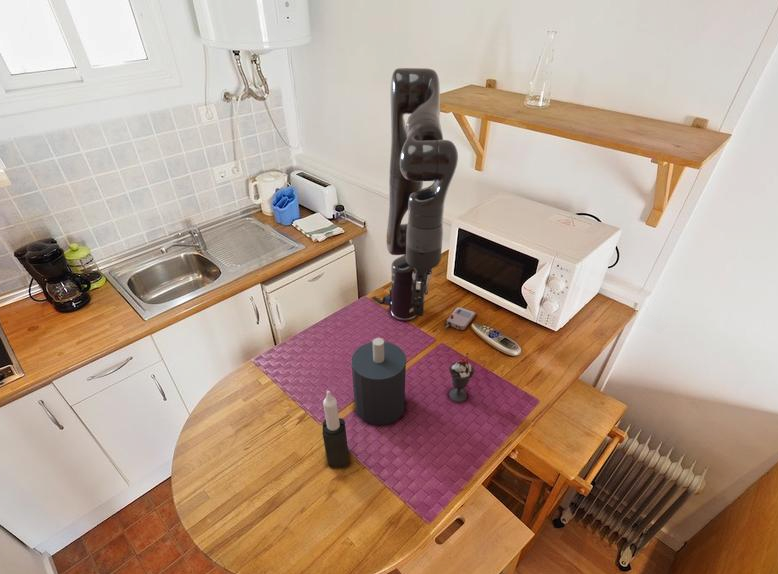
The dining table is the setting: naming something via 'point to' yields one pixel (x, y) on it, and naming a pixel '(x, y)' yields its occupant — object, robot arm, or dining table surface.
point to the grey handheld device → (460, 318)
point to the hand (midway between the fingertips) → (420, 304)
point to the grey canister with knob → (379, 382)
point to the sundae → (460, 378)
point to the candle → (334, 434)
